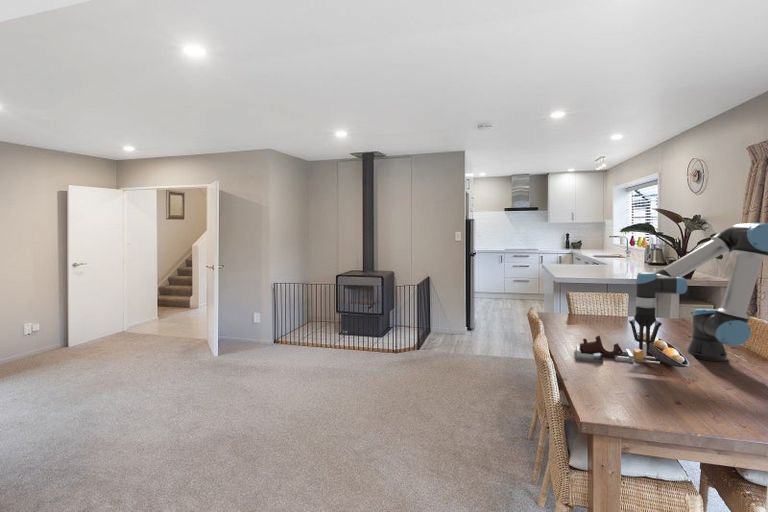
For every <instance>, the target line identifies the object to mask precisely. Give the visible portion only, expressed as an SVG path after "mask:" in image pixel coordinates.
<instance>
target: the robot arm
mask: <svg viewBox="0 0 768 512" xmlns="http://www.w3.org/2000/svg"><path fill="white" fill-rule="evenodd" d="M731 252H734V253H735V254H736V258H735V261H734V264H733V267H732V271H731V274H730V277H729V281H728V283H727V287H726V291H725V292H724V297H723V298H722V303H721V306H720V307H719V308H716V309H715V308H696V309H694V310H693V311H692V312H693V313H692V331H691V332H692V333H691V334H692V335H691V340H690V343H689V345H688V347H687V348H686V353H688V354H690V355H691V356H693V358H695V359H698V360H704V361H709V362H725V361H728V353H727V350H726V347H725V345H728V346H740V345H742V344H745V343H747V341H749V339H750V338H751V335H752V330H751V328H750V326H749V324H748V323H749V321H750V317H749V315H748V314H747V311H748V308H749V305H750V301H751V298H752V296H753V294H754V293H753V292H754V289H755V285H756V282H757V280H758V276H759V275H760V274H759V273H760V270H761V267H762V264H763V261H764V260H765V259H767V258H768V223H764V222H749V223H748V222H740V223H737V224H734V225H731V226H729V227H728V228H725V229H723V230H721V231H720V232H719V233H717V234H715V235H713V236H711V238H710V240H709V241H707V242H706V243H704V244H702V245H700V246H699V247H698V248H696V249H694V250H692V251H691V252H689V253H687V254H685V255H684V256H682V257H680V258H678V259H677V260H675V261H673V262H672V263H670V264H669V265H667V266H665V267H663V268H661V269H660V270H657V271H656V272H649V271H648V272H646V271H643V272H642V271H641V272H638V273H637V276H636V282H635V283H636V284H635V285H636V288H635V289H636V291H635V293H636V296H635V297H636V298H635V305H636V306H635V315H634V317H633V318H632V319H628V322H629V324H630V325H631V330H632V335H633V338H634V341H636V342H638V343H639V344H638V349H640V350H642V352H643V359H647V358H646V356H647V351H649V350H650V344H651V343H652V344H654V342H655V340H656V337H657V334H658V332H659V329H660V328H661V326H662V325H663V323H662V322H660V321H658V320H657V318H656V308H655V307H656V298H657V297H656V296H657V295H656V294H658V295H659V294H662V295H664V294H665V295H666V294H667V295H682V294H685V293H686V292H687V291H688V281H687V280H686V278H684V276H686V275H688V274H689V273H691V272H693V271H694V270H697V269H698V268H701V267H702V266H703V265H705V264H707V263H709V262H710V261H713V260H714V259H716V258H718V257H719V256H721V255H723V254H725V255H727V254H730V253H731ZM635 324H638V326H639V329H638V330H639V332H637V329H636V325H635ZM653 324H654V326H653ZM652 326H653V330H652V333H651V327H652ZM644 328H645V329H644ZM644 330H645V341H644ZM637 333H638V334H639V335H638V334H637ZM650 334H651V335H650Z"/></svg>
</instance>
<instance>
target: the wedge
mask: <svg viewBox="0 0 768 512" xmlns="http://www.w3.org/2000/svg"><path fill="white" fill-rule="evenodd" d="M632 351H633V352H632V355H633V359H635V360H644V358H643V352H642V350H640V349H639V348H633V350H632Z"/></svg>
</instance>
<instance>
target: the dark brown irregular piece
mask: <svg viewBox="0 0 768 512" xmlns="http://www.w3.org/2000/svg"><path fill="white" fill-rule="evenodd" d="M582 340H583V342H582V343H579V345H580V349H581V352H582V353H589V354H596V353H600V355H601V356H604V357H606V358H608V357H615V356H623V355H622V354H623V351H624V350H623V349H622V348H621V346H620V344H619V343H614V344H613V349H612V350H613V351H608V350H606V348H604V346H603V343H602V339H601V336H600V335H599V334H598V335H596V336H595V341H590V342H588V340H587V338H583V339H582ZM619 351H620V353H619Z"/></svg>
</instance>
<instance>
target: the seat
mask: <svg viewBox="0 0 768 512" xmlns="http://www.w3.org/2000/svg"><path fill="white" fill-rule="evenodd" d="M612 351H613V349H612ZM612 351H611V352H612ZM622 351H623V354H622V355H617V356H614V359H615V361H616V362H626V363H634V362H637V363H638V362H639V363H646V364H648V363H649V364H658V365H659V364H660V362H661V361H655V360H657V357H656V358H655V356H647V355H646V358H645V359H650V360H644V359H643V360H635V359H634V358H633V352H631V350H630V349H629V348H625V350H622ZM619 353H620V351H619ZM574 354H575V361H580V360H582V361H581V362H590V361H591V363H592V362H593V363H600V364H602V363H604V360H603V358H602V354H601V353H596V354H589V353H582V352H581V349H580V344H576V345H575V349H574ZM651 359H653V360H654V361H652V360H651Z"/></svg>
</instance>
